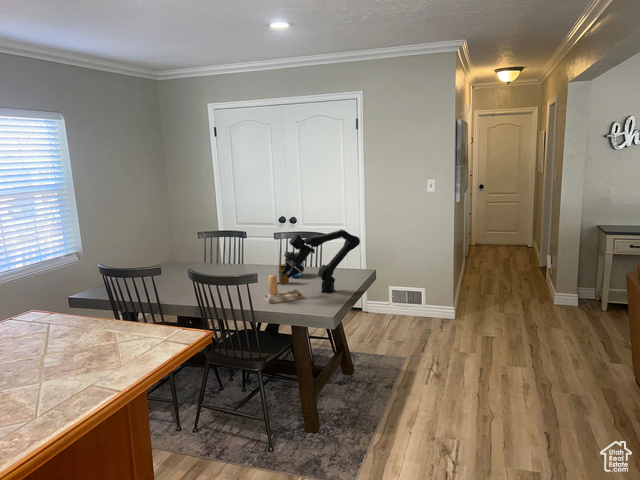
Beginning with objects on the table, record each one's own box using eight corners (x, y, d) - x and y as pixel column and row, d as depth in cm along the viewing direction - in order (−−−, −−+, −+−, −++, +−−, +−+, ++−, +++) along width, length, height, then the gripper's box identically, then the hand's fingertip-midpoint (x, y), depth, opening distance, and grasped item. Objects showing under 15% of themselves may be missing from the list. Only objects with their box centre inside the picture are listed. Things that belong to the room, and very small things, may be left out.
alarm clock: (296, 279, 304) (295, 256, 302) (287, 278, 307) (286, 256, 304) (304, 274, 316) (303, 252, 313) (296, 273, 318) (295, 252, 316)
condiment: (291, 283, 295) (290, 265, 293) (279, 286, 290) (278, 267, 288) (285, 281, 301) (284, 263, 299) (274, 283, 296) (273, 265, 294)
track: (297, 294, 271) (297, 289, 270) (302, 298, 263) (302, 293, 262) (265, 299, 264) (264, 294, 264) (269, 303, 256) (268, 298, 255)
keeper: (277, 295, 265) (276, 274, 263) (280, 298, 260) (279, 276, 257) (267, 297, 263) (265, 275, 261) (270, 300, 257) (268, 278, 255)
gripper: (287, 243, 269) (270, 264, 267) (297, 248, 252) (279, 271, 250) (301, 255, 273) (284, 275, 271) (311, 261, 256) (293, 283, 254)
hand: (284, 276), depth 262 cm, fingers open, 9 cm apart
